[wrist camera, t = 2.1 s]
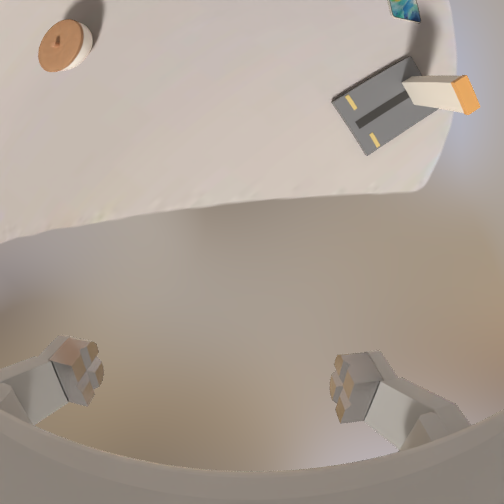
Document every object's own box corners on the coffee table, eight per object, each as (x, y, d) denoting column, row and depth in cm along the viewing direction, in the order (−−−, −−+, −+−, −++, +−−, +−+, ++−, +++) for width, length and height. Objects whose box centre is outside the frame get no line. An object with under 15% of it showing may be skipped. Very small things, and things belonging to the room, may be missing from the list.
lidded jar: (52, 57, 37) (25, 56, 29) (82, 17, 33) (57, 9, 25) (78, 81, 41) (51, 82, 33) (111, 39, 37) (86, 32, 29)
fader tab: (412, 75, 39) (466, 75, 25) (424, 98, 41) (480, 106, 27) (400, 82, 40) (454, 82, 26) (413, 105, 42) (468, 115, 28)
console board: (408, 56, 38) (411, 56, 37) (436, 108, 43) (439, 108, 42) (331, 102, 45) (332, 102, 44) (365, 154, 49) (367, 156, 48)
